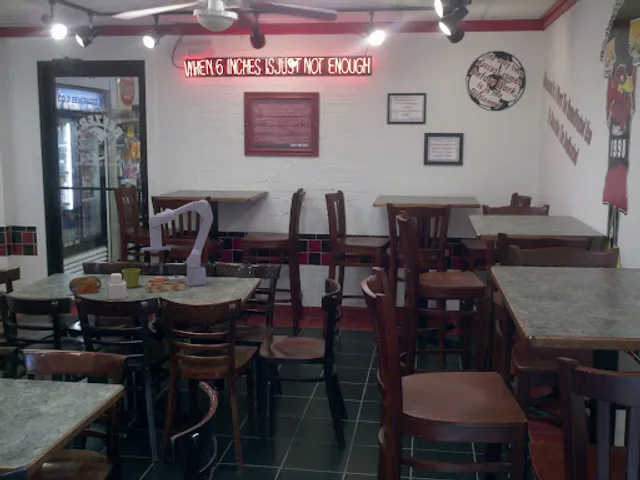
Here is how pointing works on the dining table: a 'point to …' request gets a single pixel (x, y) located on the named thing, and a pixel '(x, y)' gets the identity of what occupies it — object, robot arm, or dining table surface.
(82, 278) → the tin
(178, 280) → the slate cover
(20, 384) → the dining table surface
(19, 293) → the dining table surface
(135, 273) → the plant pot
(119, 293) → the medicine bottle
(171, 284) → the puzzle board
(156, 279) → the terracotta block
